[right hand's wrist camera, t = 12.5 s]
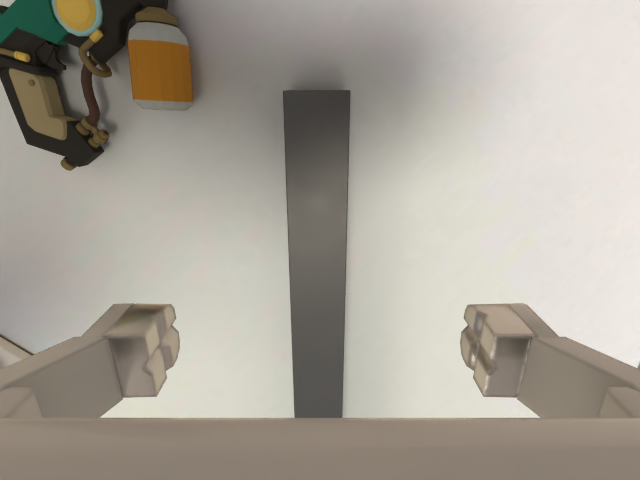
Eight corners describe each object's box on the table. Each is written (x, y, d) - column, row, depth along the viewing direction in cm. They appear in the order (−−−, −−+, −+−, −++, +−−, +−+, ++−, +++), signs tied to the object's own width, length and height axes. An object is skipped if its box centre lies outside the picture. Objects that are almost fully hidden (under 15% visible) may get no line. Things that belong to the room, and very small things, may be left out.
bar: (289, 91, 30) (282, 90, 25) (344, 91, 30) (350, 90, 25) (305, 606, 57) (303, 662, 51) (334, 605, 57) (336, 662, 51)
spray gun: (64, 174, 33) (-37, -12, 29) (234, 114, 30) (152, -104, 26) (26, 184, 29) (-100, -30, 25) (217, 115, 26) (116, -141, 22)
